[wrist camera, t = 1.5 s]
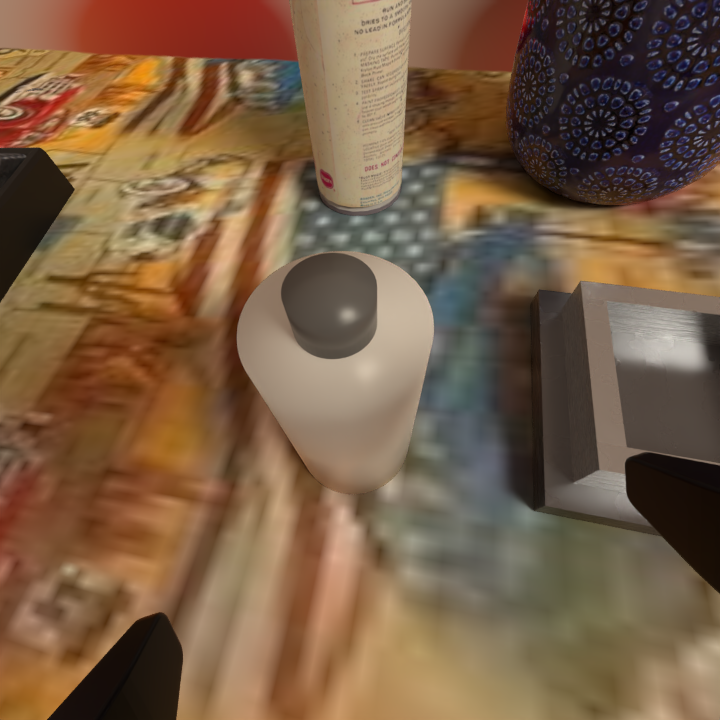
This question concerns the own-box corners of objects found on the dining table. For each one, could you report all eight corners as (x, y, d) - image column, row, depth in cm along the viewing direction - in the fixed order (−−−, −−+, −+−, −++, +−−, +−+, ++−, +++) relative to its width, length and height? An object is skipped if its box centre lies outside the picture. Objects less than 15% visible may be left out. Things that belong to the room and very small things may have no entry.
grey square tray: (835, 570, 17) (950, 568, 14) (533, 510, 19) (568, 495, 16) (751, 332, 23) (816, 289, 20) (530, 304, 25) (554, 260, 22)
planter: (472, 116, 36) (523, -138, 24) (649, 104, 36) (799, -160, 23) (513, 239, 28) (626, -47, 15) (742, 226, 28) (1055, -79, 15)
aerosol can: (360, 152, 34) (341, -283, 17) (418, 186, 32) (465, -290, 14) (302, 189, 32) (211, -268, 15) (358, 228, 30) (330, -273, 12)
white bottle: (377, 516, 19) (376, 432, 8) (279, 460, 21) (169, 328, 10) (426, 416, 22) (474, 250, 11) (335, 373, 23) (296, 191, 12)
